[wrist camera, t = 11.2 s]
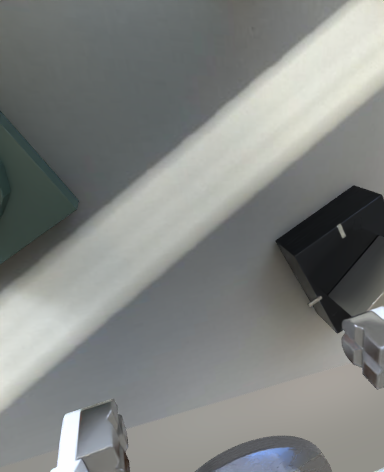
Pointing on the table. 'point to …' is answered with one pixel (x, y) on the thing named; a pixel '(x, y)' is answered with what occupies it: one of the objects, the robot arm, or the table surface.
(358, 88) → the table surface
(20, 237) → the block
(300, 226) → the rotary switch base
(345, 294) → the rotary switch knob
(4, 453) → the table surface
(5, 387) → the table surface
